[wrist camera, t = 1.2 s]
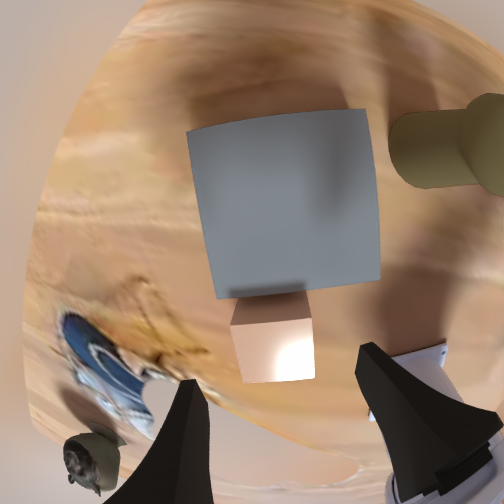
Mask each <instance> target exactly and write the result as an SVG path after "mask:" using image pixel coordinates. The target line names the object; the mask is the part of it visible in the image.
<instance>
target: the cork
mask: <svg viewBox="0 0 504 504" xmlns="http://www.w3.org/2000/svg"><path fill="white" fill-rule="evenodd" d="M389 153H390V157H391V161H392V163H393V165H394V167H395V169H396V171H397V173H398V174H399V175H400V176H401V177H402V178H403V179H404V180H405V181H406V182H407V183H409V184H411V185H412V186H414V187H417V188H423V189H429V188H439V187H449V186H460V185H472V184H481V185H482V186H483V187H484V188H485V189H486V190H488V191H490V192H491V193H493V194H495V195H498V196H502V197H504V95H502V94H493V93H487V94H484V95H481V96H479V97H477V98H476V99H474V100H473V101H472V102H471V103H469V104H468V106H467V108H466V109H459V110H440V111H428V112H417V113H408V114H405V115H403V116H402V117H400V118H398V119H397V121H396V122H395V123H394V125H393V126H392V129H391V132H390V135H389Z"/></svg>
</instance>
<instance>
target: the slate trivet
mask: <svg viewBox="0 0 504 504" xmlns="http://www.w3.org/2000/svg"><path fill="white" fill-rule="evenodd" d="M186 134H187V141H188V148H189V154H190V160H191V167H192V173H193V179H194V185H195V191H196V197H197V202H198V208H199V213H200V219H201V224H202V229H203V235H204V240H205V245H206V250H207V255H208V260H209V264H210V269H211V274H212V279H213V283H214V288H215V293H216V297H217V299H228V298H239V297H250V296H260V295H270V294H279V293H288V292H296V291H305V290H313V289H321V288H328V287H336V286H343V285H350V284H357V283H364V282H370V281H377V280H380V225H379V208H378V195H377V184H376V174H375V166H374V158H373V151H372V144H371V138H370V131H369V126H368V120H367V115H366V110H365V109H340V110H322V111H309V112H298V113H288V114H280V115H272V116H265V117H258V118H252V119H246V120H240V121H234V122H229V123H224V124H219V125H214V126H209V127H205V128H200V129H196V130H192V131H188V132H186Z"/></svg>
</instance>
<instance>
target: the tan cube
mask: <svg viewBox="0 0 504 504" xmlns="http://www.w3.org/2000/svg"><path fill="white" fill-rule="evenodd" d="M230 329H231V333H232V338H233V342H234V347H235V351H236V355H237V359H238V363H239V368H240V372H241V376H242V380H243V383H261V382H276V381H288V380H299V379H308V378H314V353H313V332H312V317H311V312H310V307H309V303H308V298H307V293H306V290H305V291H296V292H288V293H279V294H270V295H260V296H250V297H239V298H238V301H237V304H236V307H235V311H234V314H233V317H232V320H231V323H230Z"/></svg>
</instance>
